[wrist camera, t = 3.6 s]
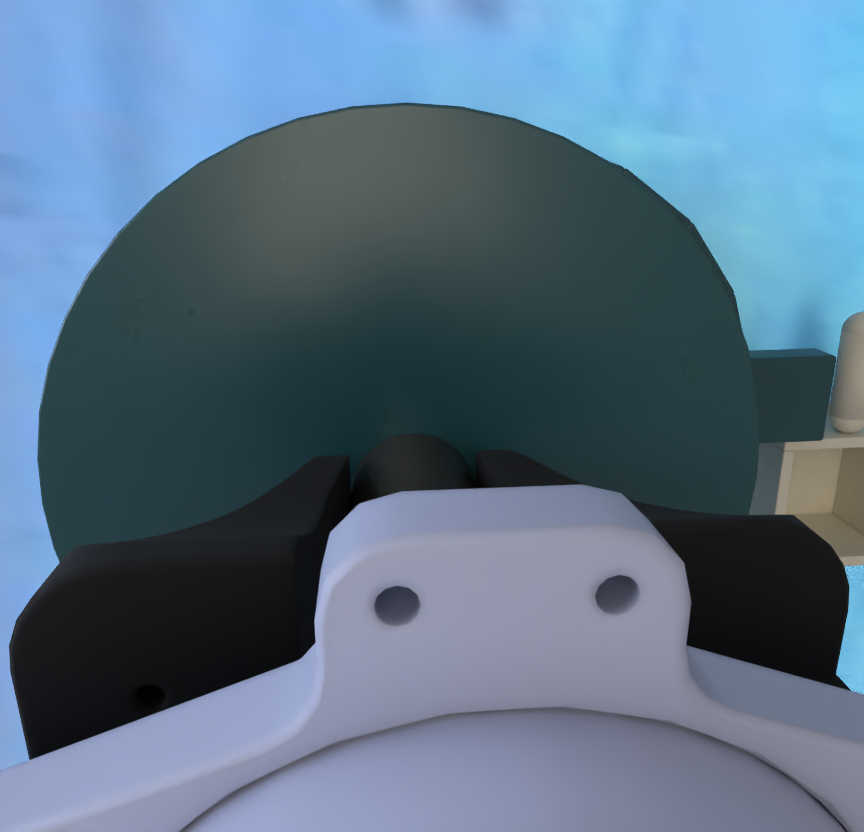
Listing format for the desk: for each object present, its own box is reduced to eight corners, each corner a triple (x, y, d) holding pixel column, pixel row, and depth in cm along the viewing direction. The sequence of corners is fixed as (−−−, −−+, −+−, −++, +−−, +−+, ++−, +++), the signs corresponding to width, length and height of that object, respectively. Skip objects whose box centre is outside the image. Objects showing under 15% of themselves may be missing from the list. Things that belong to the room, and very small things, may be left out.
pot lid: (698, 723, 18) (795, 882, 14) (112, 761, 17) (31, 945, 13) (777, 109, 14) (951, 78, 10) (-1, 107, 13) (-178, 72, 9)
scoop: (834, 517, 27) (899, 564, 23) (718, 523, 26) (767, 571, 23) (872, 295, 24) (951, 313, 21) (744, 298, 24) (804, 317, 21)
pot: (716, 533, 26) (810, 627, 21) (193, 560, 25) (143, 669, 20) (762, 145, 22) (893, 133, 17) (141, 152, 21) (58, 142, 15)
